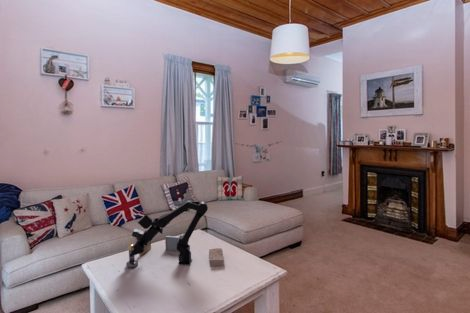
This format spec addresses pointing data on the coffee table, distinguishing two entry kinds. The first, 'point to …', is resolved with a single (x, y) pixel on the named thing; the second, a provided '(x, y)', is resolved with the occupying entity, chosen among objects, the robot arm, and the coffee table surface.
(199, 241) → the coffee table surface
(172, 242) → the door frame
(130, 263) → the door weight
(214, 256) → the brick
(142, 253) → the door
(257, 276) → the coffee table surface
